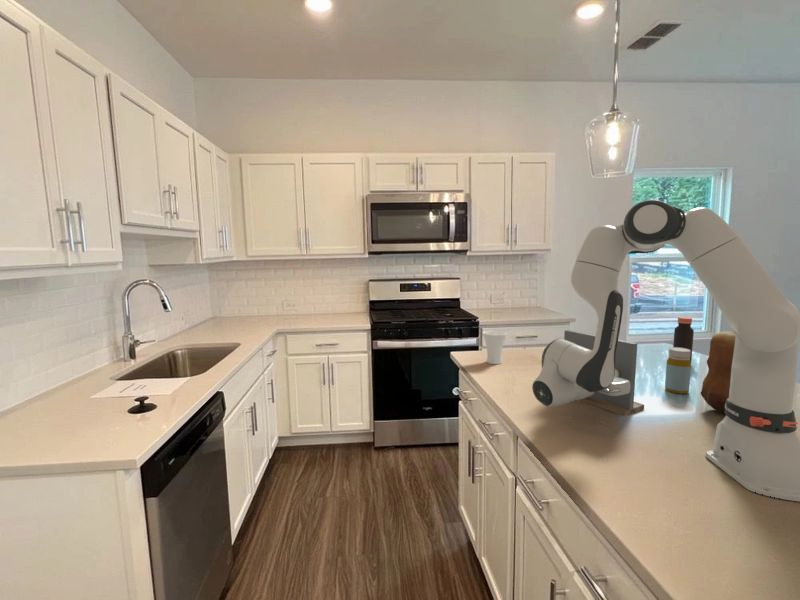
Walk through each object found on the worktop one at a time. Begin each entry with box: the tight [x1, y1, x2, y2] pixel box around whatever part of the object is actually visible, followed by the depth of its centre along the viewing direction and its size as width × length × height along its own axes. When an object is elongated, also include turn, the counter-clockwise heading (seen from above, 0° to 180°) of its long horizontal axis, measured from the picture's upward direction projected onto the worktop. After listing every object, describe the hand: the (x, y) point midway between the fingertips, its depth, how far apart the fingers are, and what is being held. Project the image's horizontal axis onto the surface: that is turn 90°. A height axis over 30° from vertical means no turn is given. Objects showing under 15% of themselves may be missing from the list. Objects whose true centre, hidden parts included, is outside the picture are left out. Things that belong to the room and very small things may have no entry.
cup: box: [482, 329, 508, 365], centre depth 181 cm, size 10×10×14 cm
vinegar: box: [672, 316, 695, 363], centre depth 175 cm, size 7×7×20 cm
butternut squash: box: [700, 331, 736, 414], centre depth 122 cm, size 14×13×25 cm
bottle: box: [664, 346, 692, 395], centre depth 142 cm, size 7×7×15 cm
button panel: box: [563, 329, 645, 417], centre depth 134 cm, size 10×24×22 cm, turn 30°
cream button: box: [614, 368, 619, 377], centre depth 125 cm, size 2×4×4 cm, turn 30°
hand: (608, 374), depth 124 cm, fingers closed
